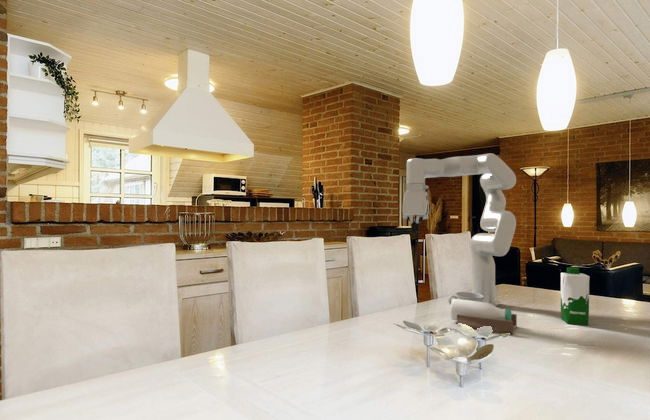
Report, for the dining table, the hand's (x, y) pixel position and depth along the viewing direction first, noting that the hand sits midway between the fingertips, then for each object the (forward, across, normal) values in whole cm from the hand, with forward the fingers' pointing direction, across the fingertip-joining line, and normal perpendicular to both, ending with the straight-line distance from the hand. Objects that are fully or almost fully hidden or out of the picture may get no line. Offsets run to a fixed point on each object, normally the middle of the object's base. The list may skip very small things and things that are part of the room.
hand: (415, 232), depth 175 cm
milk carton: (+32, -57, -14) cm, 67 cm away
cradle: (+32, -30, +11) cm, 45 cm away
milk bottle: (+28, -17, +10) cm, 34 cm away
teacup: (+32, -19, -6) cm, 38 cm away
